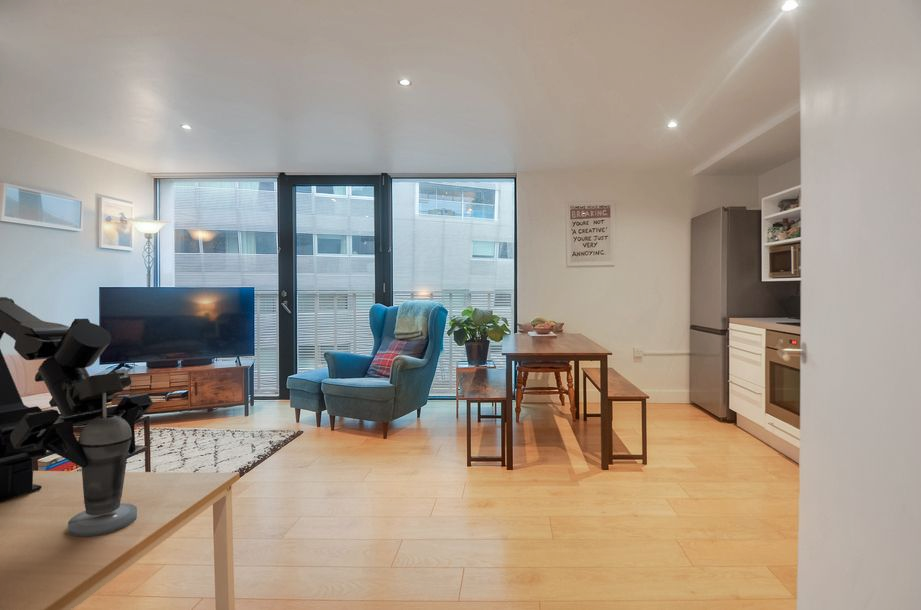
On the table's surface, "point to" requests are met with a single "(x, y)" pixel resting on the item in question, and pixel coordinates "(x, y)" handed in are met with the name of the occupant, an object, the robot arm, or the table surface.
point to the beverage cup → (104, 461)
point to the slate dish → (102, 521)
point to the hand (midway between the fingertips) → (110, 458)
